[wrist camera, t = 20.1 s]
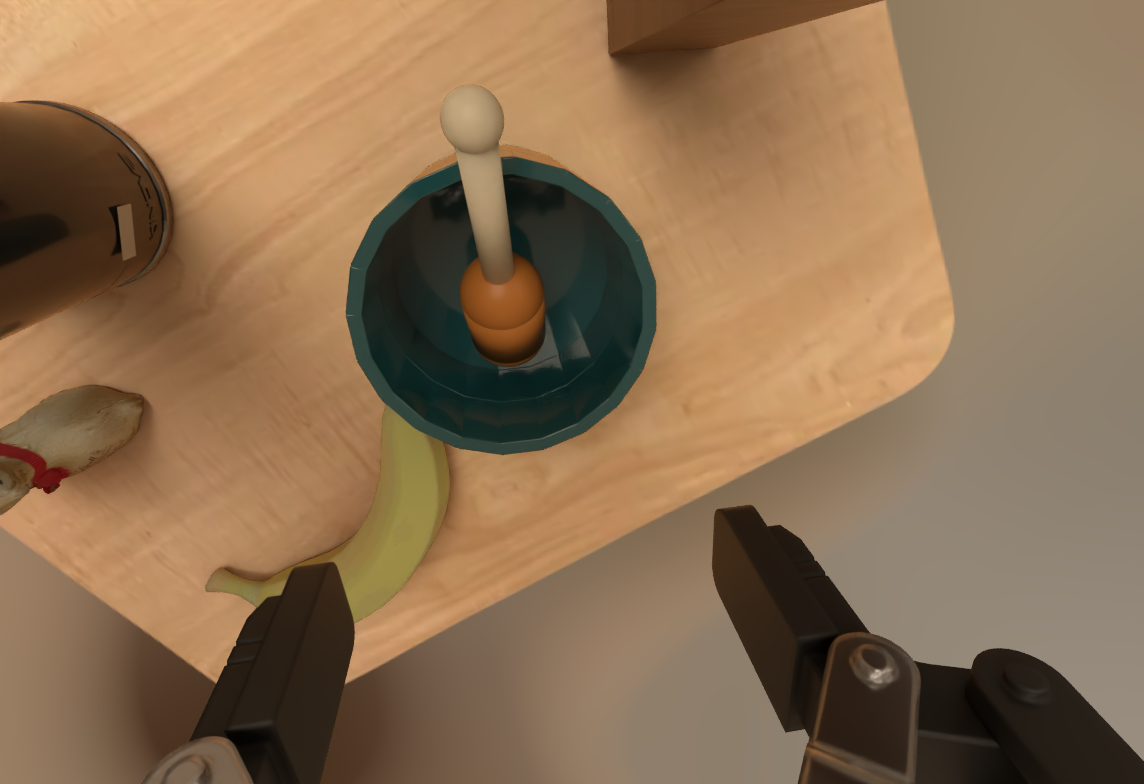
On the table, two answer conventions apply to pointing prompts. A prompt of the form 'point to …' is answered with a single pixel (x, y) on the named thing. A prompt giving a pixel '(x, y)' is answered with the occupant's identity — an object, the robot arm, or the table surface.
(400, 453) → the banana
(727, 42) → the stand
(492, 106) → the drumstick
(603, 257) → the pot
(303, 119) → the table surface
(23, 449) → the chocolate bunny
